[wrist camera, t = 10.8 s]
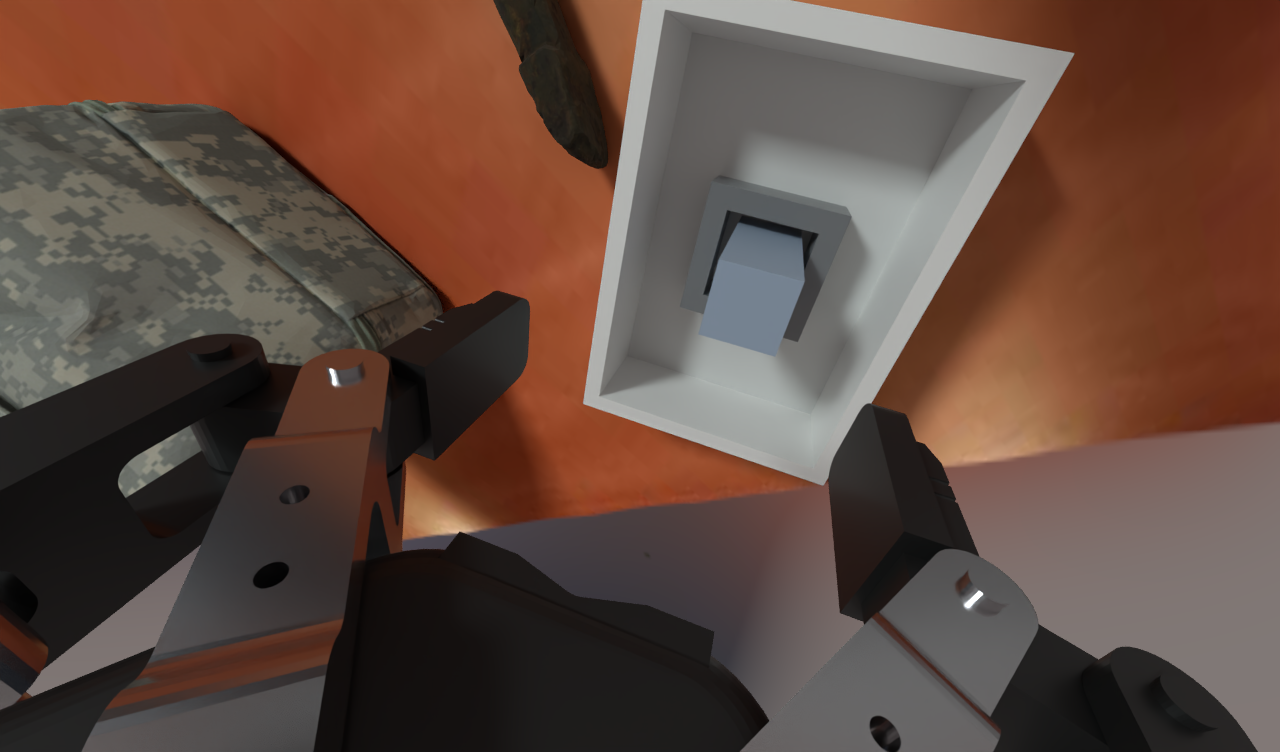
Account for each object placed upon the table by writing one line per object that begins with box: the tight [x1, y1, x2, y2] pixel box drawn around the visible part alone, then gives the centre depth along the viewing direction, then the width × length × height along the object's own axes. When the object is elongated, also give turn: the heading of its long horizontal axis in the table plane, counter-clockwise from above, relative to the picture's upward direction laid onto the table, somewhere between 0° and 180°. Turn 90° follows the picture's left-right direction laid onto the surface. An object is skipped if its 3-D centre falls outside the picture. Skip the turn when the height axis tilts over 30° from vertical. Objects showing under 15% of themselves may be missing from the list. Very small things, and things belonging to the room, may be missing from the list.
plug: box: [698, 216, 805, 357], centre depth 24 cm, size 4×4×10 cm
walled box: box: [583, 0, 1075, 486], centre depth 26 cm, size 22×16×7 cm
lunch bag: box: [0, 100, 443, 498], centre depth 32 cm, size 26×18×22 cm
